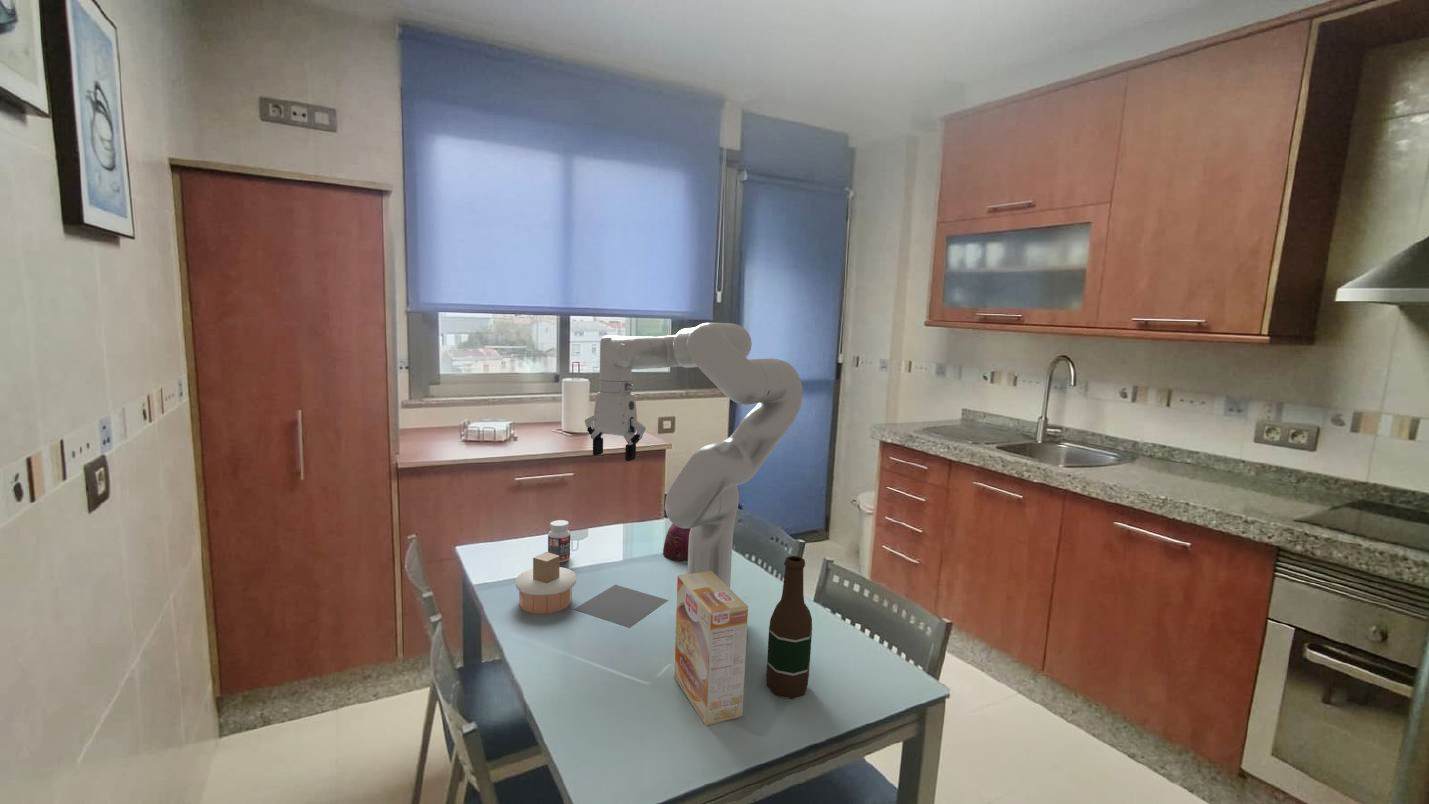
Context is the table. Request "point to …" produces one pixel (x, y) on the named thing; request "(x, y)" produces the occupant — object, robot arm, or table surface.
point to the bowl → (545, 602)
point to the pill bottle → (559, 539)
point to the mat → (621, 605)
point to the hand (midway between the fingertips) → (613, 457)
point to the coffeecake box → (710, 646)
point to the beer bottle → (790, 636)
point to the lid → (546, 576)
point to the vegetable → (676, 544)
